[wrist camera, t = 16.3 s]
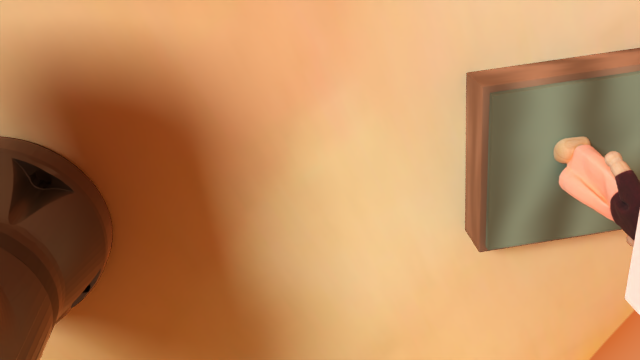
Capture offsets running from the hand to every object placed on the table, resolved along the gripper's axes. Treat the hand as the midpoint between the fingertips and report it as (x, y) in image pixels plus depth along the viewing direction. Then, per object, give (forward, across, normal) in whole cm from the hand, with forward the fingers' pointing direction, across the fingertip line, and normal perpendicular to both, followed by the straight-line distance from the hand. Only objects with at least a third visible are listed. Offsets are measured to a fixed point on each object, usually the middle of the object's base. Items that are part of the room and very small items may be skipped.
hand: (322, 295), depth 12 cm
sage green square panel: (+32, +21, -14) cm, 41 cm away
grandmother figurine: (+28, +21, -14) cm, 38 cm away
